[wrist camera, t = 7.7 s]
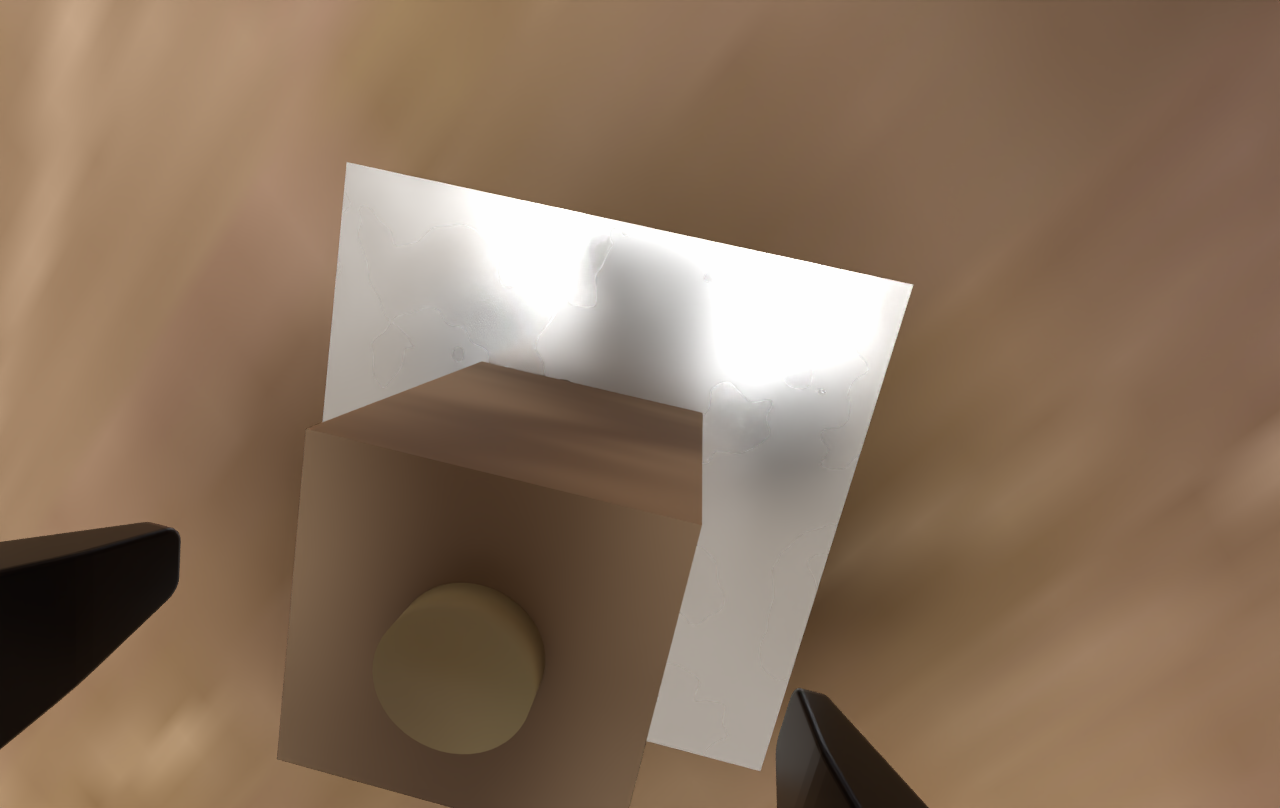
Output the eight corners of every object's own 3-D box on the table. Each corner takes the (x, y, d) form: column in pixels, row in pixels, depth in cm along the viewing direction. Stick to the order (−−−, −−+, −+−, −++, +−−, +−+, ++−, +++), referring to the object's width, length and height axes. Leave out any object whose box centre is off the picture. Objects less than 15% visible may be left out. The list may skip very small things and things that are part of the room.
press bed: (890, 283, 13) (913, 285, 12) (755, 726, 16) (760, 771, 15) (384, 174, 14) (347, 162, 13) (336, 616, 17) (300, 649, 15)
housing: (702, 412, 13) (702, 548, 6) (653, 613, 14) (611, 897, 8) (481, 361, 13) (271, 441, 7) (450, 562, 14) (245, 795, 8)
